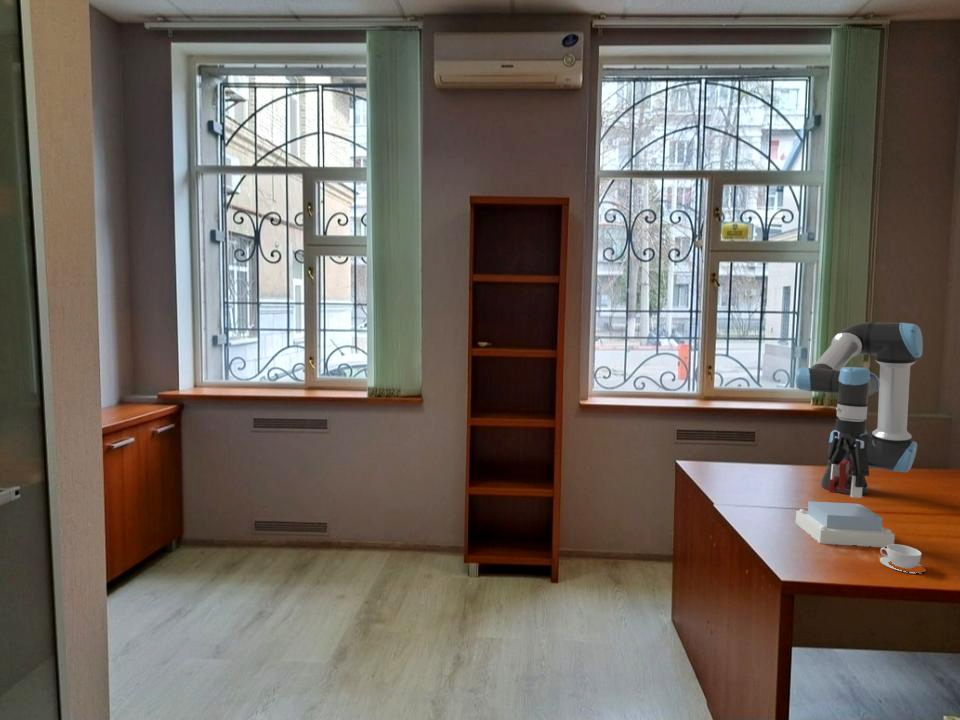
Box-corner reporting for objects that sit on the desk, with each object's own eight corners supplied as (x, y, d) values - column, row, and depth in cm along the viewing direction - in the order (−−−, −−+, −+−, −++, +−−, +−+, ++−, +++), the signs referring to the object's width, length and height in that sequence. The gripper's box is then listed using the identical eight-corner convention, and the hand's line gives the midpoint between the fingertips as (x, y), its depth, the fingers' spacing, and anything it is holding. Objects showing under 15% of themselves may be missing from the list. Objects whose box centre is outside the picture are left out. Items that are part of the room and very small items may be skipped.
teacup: (927, 566, 150) (928, 549, 150) (925, 579, 143) (926, 561, 142) (881, 555, 157) (882, 538, 156) (877, 567, 149) (878, 550, 149)
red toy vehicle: (862, 490, 171) (864, 457, 170) (854, 500, 162) (857, 465, 161) (835, 485, 176) (838, 453, 175) (826, 494, 167) (829, 460, 166)
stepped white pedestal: (862, 526, 177) (864, 502, 176) (893, 547, 161) (895, 521, 160) (795, 523, 179) (797, 498, 178) (819, 543, 163) (821, 516, 163)
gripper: (818, 411, 179) (813, 479, 181) (859, 426, 156) (853, 503, 158) (843, 412, 178) (838, 480, 180) (888, 427, 155) (881, 504, 157)
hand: (845, 491), depth 169 cm, fingers closed on red toy vehicle, 11 cm apart
